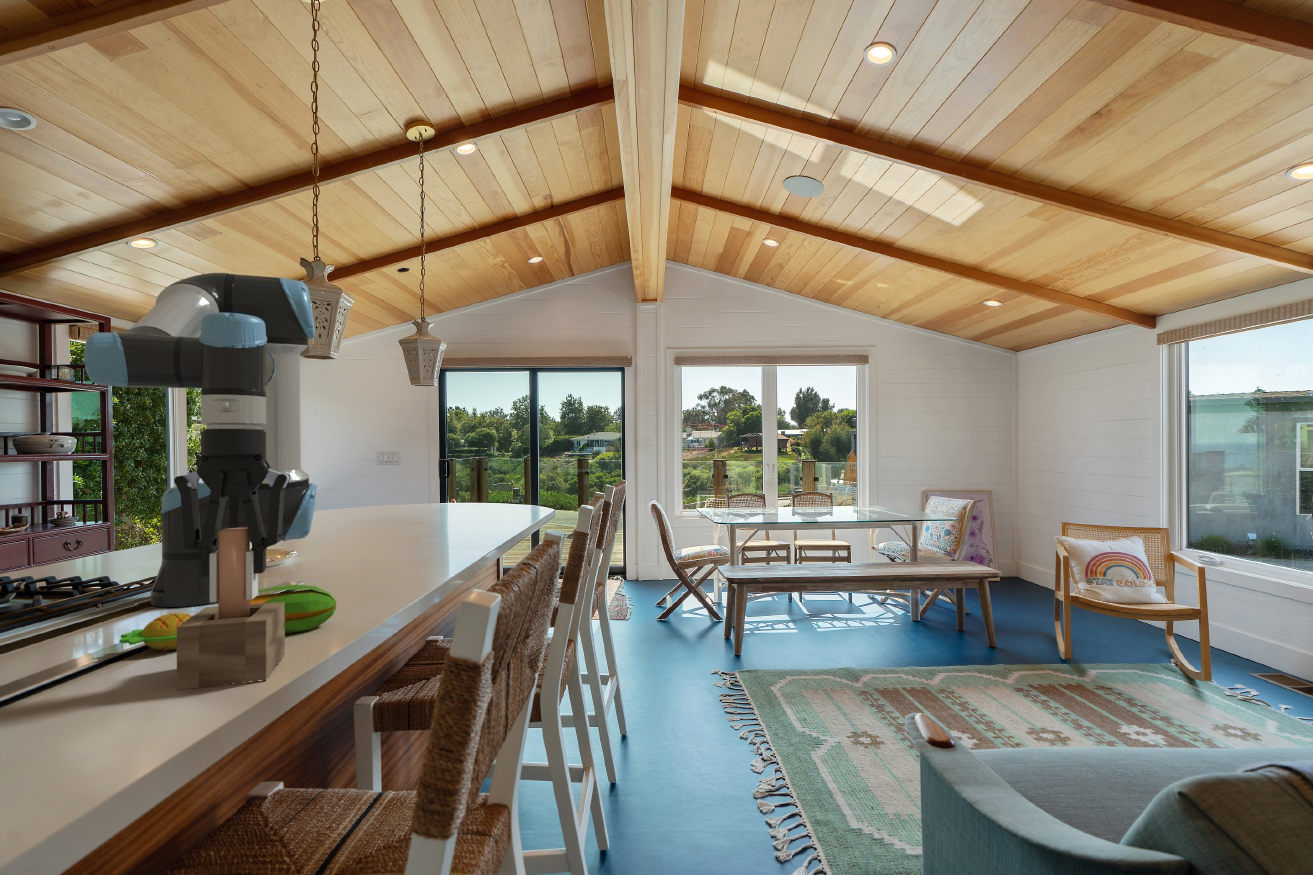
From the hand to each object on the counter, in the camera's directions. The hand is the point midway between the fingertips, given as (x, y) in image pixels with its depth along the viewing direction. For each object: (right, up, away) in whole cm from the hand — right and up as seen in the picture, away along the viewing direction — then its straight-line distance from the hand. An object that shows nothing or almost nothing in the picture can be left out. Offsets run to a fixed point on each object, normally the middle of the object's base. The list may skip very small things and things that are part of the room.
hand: (234, 598), depth 88 cm
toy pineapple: (-17, -10, +9) cm, 22 cm away
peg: (0, -3, 0) cm, 3 cm away
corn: (-6, -10, +18) cm, 21 cm away
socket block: (0, -10, 0) cm, 10 cm away
